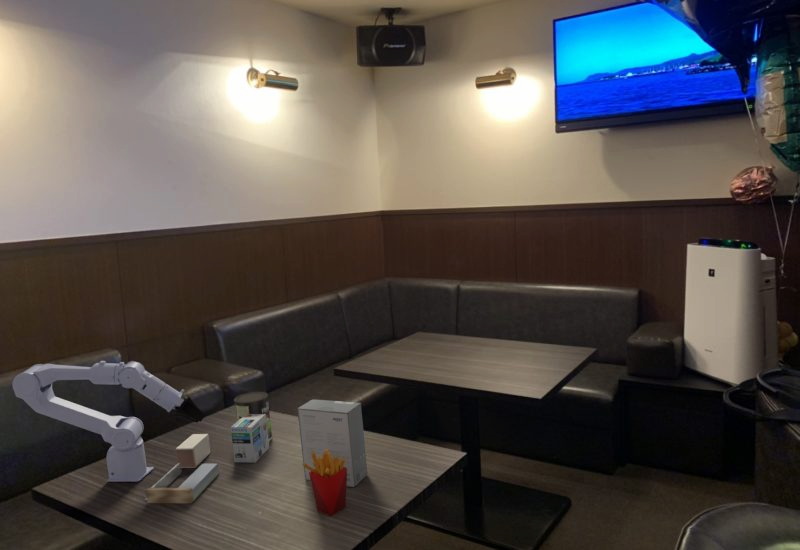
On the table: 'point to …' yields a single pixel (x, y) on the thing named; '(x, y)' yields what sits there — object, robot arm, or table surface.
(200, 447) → the cream rectangular block
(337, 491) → the french fries
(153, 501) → the shelf rail
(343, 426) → the hard drive box
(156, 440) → the table surface
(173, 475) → the grey panel
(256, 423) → the light bulb box
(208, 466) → the two-layer flat tile
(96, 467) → the table surface
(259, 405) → the coffee can
